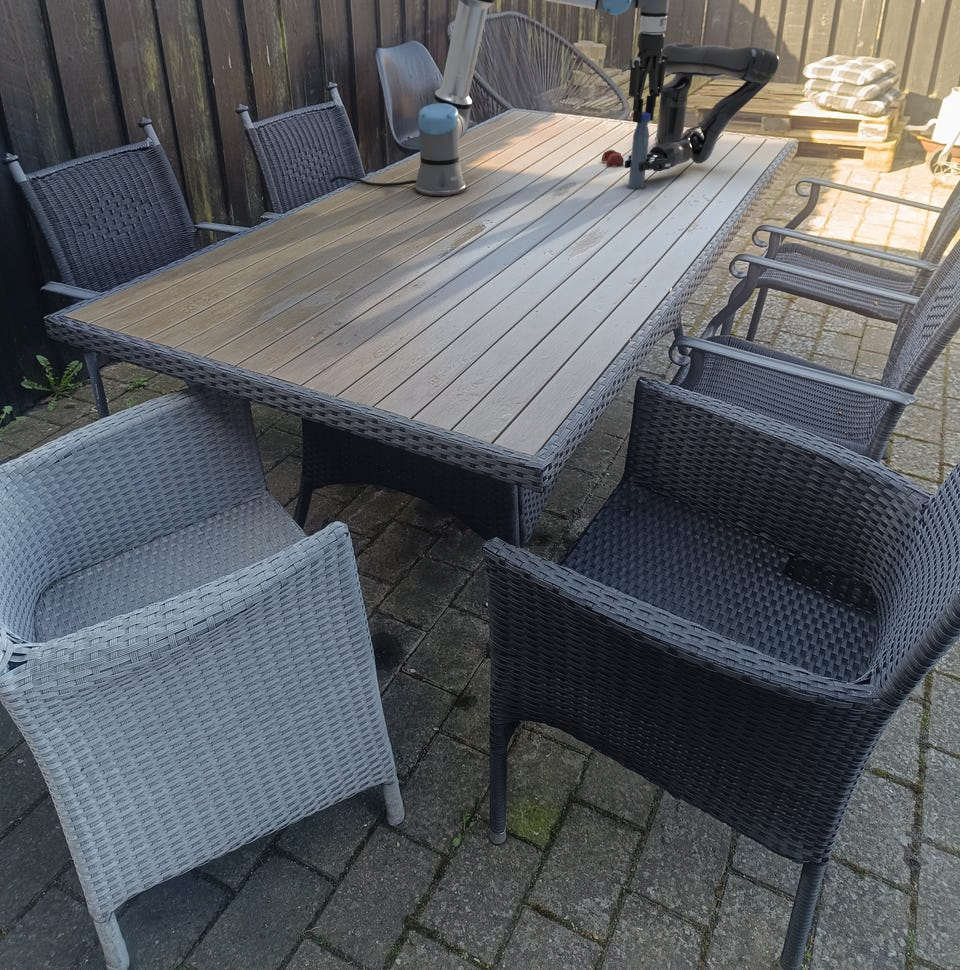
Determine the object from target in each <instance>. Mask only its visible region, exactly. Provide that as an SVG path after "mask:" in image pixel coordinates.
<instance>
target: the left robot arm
mask: <svg viewBox="0 0 960 970" xmlns="http://www.w3.org/2000/svg"><path fill="white" fill-rule="evenodd" d="M544 1H545V2H550V3H557V4H562V5H569V6H573V7H579V8H584V9H590V10H596V11H598V12H599V11H600V12H604V13H608V14H609V15H612V16H620V15H622V14H624V13H625V12H627V11H628V9H640V15H639V25H638V31H639V33H638V34H637V43H636V44H637V45H636V46H637V48H638V52H637V55H636V57H635V58H634V59H632V58H631V59H629V67H630V72H629V73H630V74H629V86H628V88H629V89H628V97H631V98H632V99H633V105H632V111H633V115H632V122H633V123H636V124H637V123H641V119H642V112H643V108H644V98H642V97H643V94H644V90H645V86H646V82H647V81H646V80H647V77H648V95H646V100H645V101H646V102H645V110H644V112H649V113H651V117H650V122H653V121H654V114H655V108H656V103H657V98H659V97H661V93H662V91H663V85H664V84H665V76H666V75H665V74H666V73H665V68H666V63H667V61H668V56H665V55H662V51H661V50H662V49H663V48H664V47H665V42H666V34H665V32H666V31H667V24H668V23H667V22H668V15H669V5H670V0H544ZM495 3H496V0H458V2H457V7H456V13H455V18H454V23H453V28H452V32H451V37H450V42H449V47H448V52H447V58H446V62H445V67H444V73H443V77H442V80H441V81H442V82H441V87H440V88H438V89H437V90H435V92H434V96H433V102H432V103H431V104H429V105H425V106H423V107H422V108H420V110H419V112H418V119H417V120H418V121H417V123H418V134H419V135H418V136H419V138H418V139H419V157H420V158H419V159H420V161H419V162H420V164H419V168H418V172H417V176H416V179H412V180H405V181H399V182H372V181H367V180H364V179H362V178H358V177H352V176H348V175H347V176H346V175H336V176H334V177H332V178H331V179H330V181H329V183H335V181H337V180H346V181H353V182H359V183H361V184H363V185H367V186H372V187H397V186H398V187H399V186H405V185H412V184H415V185H414V186H415V192H417V193H418V194H420V195H424V196H430V197H450V196H455V195H459V194H461V193H463V192H464V191H466V181H465V179H464V176H463V172H462V169H461V165H460V144H459V143H460V140H461V139H462V138H463V137H464V136H465V135H466V133H467V131H468V129H469V127H470V123H471V110H472V105H473V99H472V98H471V97H470V91H471V86H472V81H473V77H474V74H475V69H476V64H477V61H478V55H479V50H480V46H481V41H482V37H483V32H484V29H485V23H486V20H487V14H488V10H489V8H490V7H492V6H493V5H494V4H495Z"/></svg>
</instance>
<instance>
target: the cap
mask: <svg viewBox="0 0 960 970" xmlns="http://www.w3.org/2000/svg"><path fill="white" fill-rule="evenodd" d="M650 117H651V113H649V112H645V111H642V119H641V122H648V123H649V122H651V121H650Z"/></svg>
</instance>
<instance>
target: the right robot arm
mask: <svg viewBox="0 0 960 970" xmlns="http://www.w3.org/2000/svg"><path fill="white" fill-rule="evenodd" d="M661 51H662V55H665V56H668V61H667V63H666V68H665V74H666V75H674V77H673V78H672V79H671V80H670V81H669V82H667V83H664V84H663V91H662V93H660V98H659V99H660V100H659V108H658V115H657V126H656V135H655V137H654V141H655V142H654V146H653V147H652V148H651V149H650V150H649V152H647V161H646V162H645V163H641V164H639V171H640V172H642V171H645V172H646V171H653V172H662V171H665V170H670V169H672V168H674V167H676V166H678V165H682V164H684V163H687V162H688V161H690V160H691V161H692V162H693V163H695V164H698V165H699V164H703V163H705V162H706V161H708V159H709V158H710V157H711V156H712V154H713V152H714V149H715V147H716V144H717V141H718V139H719V137H720V135H721V134H722V132H723V131H724V130H725V129H726V127H727V126H728V125H729V124H730V122H731V121H732V120H733V119H734V118H735V116H736V115H737V114H738V113H739V112H740V111H741V109H743V107H744V106H746V105H747V104H748V103H749V102H750V101H751V100H752V99H754V97H755V96H756V95H757V94H758V93H760V92H761V90H763V89H764V88H765V87H766V86H767V85H768V84H769V83H770V81H771V80H772V79H773V78H774V76H775V75H776V73H777V71H778V68H779V65H780V64H779V63H780V59H779V56H778V54H777V53H776V52H775V51H773V50H771V49H766V48H762V47H759V46H751V45H750V46H741V47H735V48H733V47H732V48H731V47H728V46H725V45H719V44H718V45H717V44H706V45H697V46H695V45H694V44H693V43H691V42H674V43H668V44H666V45H664V48H662V49H661ZM694 76H697V77H701V78H707V79H721V78H723V77H725V76H729V77H733V78H736V79H739V80H741V81H744V83H743V84H742V85H740V86H739V87H738V88H737V89H735V90H734V91H732V92H730V93H729V94H728V95H726V96H725V97H723V98H721V99H720V100H719V101H717V102H716V103H715V104H713V107H711V108H710V110H709V111H708V113H707V114H706V115H705V117H704V118H703V120H702V121H700V122H699V124H698V125H696V126H693V127H690V128H688V129H686V130H685V122H686V114H687V107H688V99H689V92H690V89H691V87H692V83H693V78H694ZM699 128H700V131H701V132H700V131H698V130H697V129H699ZM684 130H685V131H684ZM627 158H628V159H626V160H624V169H630V163H631V154H629V155H628V157H627Z"/></svg>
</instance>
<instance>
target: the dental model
mask: <svg viewBox="0 0 960 970" xmlns="http://www.w3.org/2000/svg"><path fill="white" fill-rule="evenodd" d="M601 162H603V163H605V162H606V165H607V166H608V167H611V166H624V164H625V160H624V158H623V156H622V153H621V152H618V151H616V150H614V149H608V150H605V151H604V152H603V154H602V156H601Z"/></svg>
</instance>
